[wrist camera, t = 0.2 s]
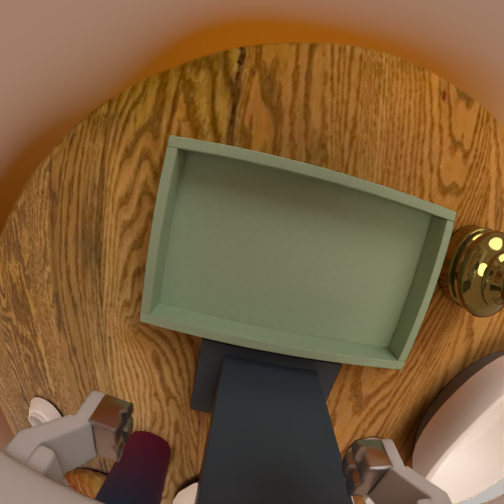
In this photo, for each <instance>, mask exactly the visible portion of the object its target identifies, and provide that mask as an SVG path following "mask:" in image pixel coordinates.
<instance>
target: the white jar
mask: <svg viewBox="0 0 504 504" xmlns="http://www.w3.org/2000/svg"><path fill="white" fill-rule="evenodd" d="M61 417H62V416H61V415H60V413H59V412H58V410H57V409H56V408H55V407H54V406H53V405H52V404H50V403H49V402H48V401H46V400H45V399H42V398H40V397H34V398H33V399H32V400H31V402H30V408H29V416H28V419H29V422H30V423H31V425H32V426H36V425H39V424H43V423H46V422H49V421H52V420H55V419H58V418H61Z"/></svg>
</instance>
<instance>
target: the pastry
mask: <svg viewBox="0 0 504 504" xmlns="http://www.w3.org/2000/svg"><path fill="white" fill-rule="evenodd" d="M106 477H107V475H105V474H102V473H100V472H93V471H92V470H88V469H83V468H82V469H79V468H75V469H73V470H71V471H70V472H68V473H66V475H65V478H66V480H67V483H68V484H69V485H70V487H71V488H72V489H74V490H76V491H78V492H79V493H80V494H83V495H85V496H87V497H90V498H92V499H95V497H96V495H97V493H98V492H99V490H100V488H101V486H102V485H103V483H104V481H105V479H106Z"/></svg>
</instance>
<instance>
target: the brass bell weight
mask: <svg viewBox="0 0 504 504" xmlns="http://www.w3.org/2000/svg"><path fill="white" fill-rule="evenodd" d="M439 281H440V285H441V288H442V290H443V292H444V293H445V294H446V296H448V297H449V298H450V299H452V300H453V301H455V303H456V304H457V305H459V306H460V307H462V308H465V309H466V310H467V311H468V312H469V313H470V314H472V315H473V316H476V317H489V316H491V315H494V314H496V313H497V312H499V311H500V310H501V309H502V308H503V307H504V233H503V232H499V231H493V230H491V229H489V228H482V227H479V226H474V225H470V226H465V227H463V228H461V229H459V230H458V231H457V232H455V233H454V234H453V235H452V236H451V238H450V241H449V244H448V248H447V252H446V255H445V258H444V262H443V265H442V268H441V271H440V274H439Z"/></svg>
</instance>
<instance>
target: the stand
mask: <svg viewBox="0 0 504 504" xmlns="http://www.w3.org/2000/svg"><path fill="white" fill-rule="evenodd" d="M341 366H342V364H341V363H337V362H330V361H323V360H316V359H309V358H303V357H297V356H291V355H285V354H280V353H274V352H269V351H263V350H258V349H253V348H248V347H243V346H238V345H233V344H229V343H224V342H220V341H215V340H211V339H206V338H202V343H201V348H200V354H199V360H198V365H197V371H196V377H195V383H194V388H193V394H192V400H191V406H190V409H193V410H197V411H202V412H206V413H211V418H210V423H209V428H208V433H207V439H206V444H205V449H204V455H203V460H202V465H201V471H200V476H199V482H198V487H197V493H196V498H195V504H353V501H352V497H351V496H348V493H347V489H346V485H345V483H346V481H347V478H346V477H345V476H344V475H343V473H342V459H341V456H340V452H339V448H338V445H337V441H336V437H335V434H334V430H333V427H332V423H331V419H330V416H329V412H328V409H327V405H326V400H327V398H328V396H329V393H330V391H331V389H332V387H333V384H334V382H335V380H336V377H337V375H338V373H339V370H340V368H341Z"/></svg>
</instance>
